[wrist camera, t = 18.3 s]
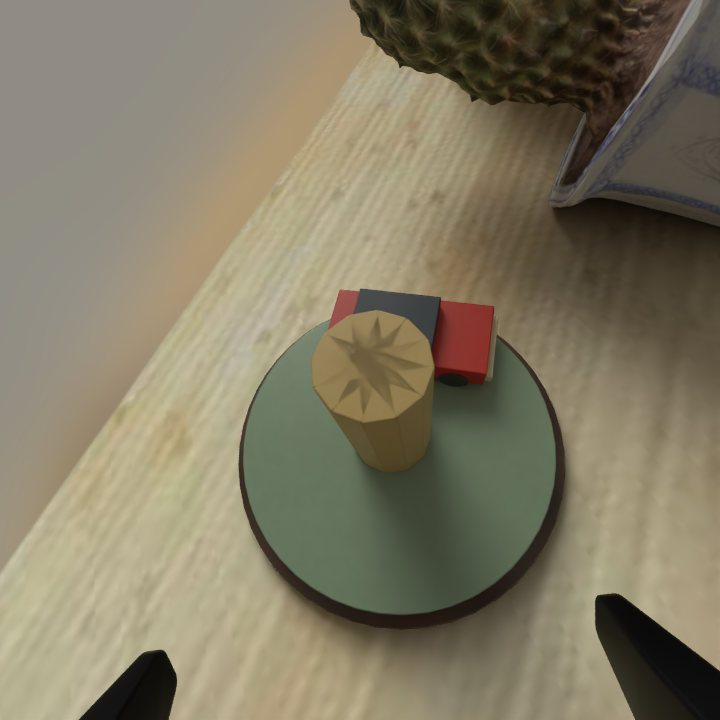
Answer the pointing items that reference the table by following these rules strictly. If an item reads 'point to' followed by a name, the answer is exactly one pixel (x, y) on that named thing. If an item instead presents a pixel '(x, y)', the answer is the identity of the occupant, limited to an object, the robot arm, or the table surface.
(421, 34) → the potted plant
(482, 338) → the turntable
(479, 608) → the display stand
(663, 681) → the robot arm
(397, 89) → the table surface
